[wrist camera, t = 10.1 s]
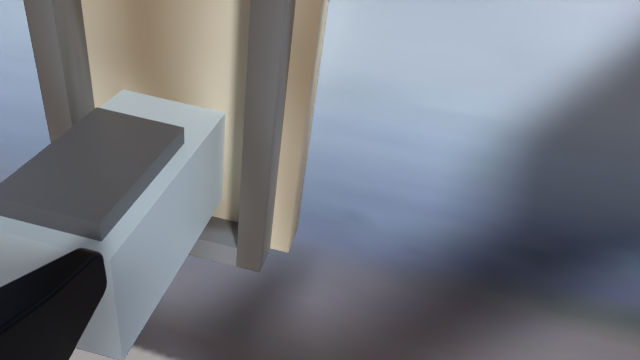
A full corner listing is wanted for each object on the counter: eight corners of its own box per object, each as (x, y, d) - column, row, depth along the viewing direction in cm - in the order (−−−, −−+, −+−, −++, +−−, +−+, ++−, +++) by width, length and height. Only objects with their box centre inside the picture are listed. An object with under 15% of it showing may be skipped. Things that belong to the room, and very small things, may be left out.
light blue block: (222, 198, 21) (122, 360, 15) (130, 176, 22) (-7, 325, 15) (226, 98, 19) (107, 241, 12) (121, 74, 19) (-48, 202, 13)
